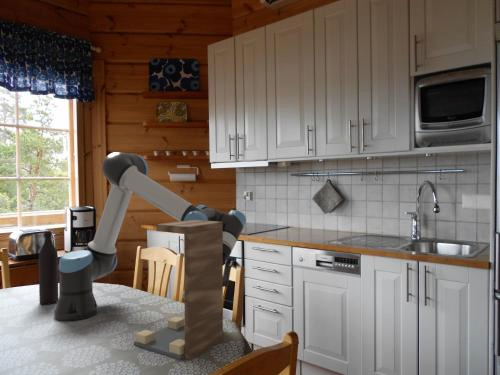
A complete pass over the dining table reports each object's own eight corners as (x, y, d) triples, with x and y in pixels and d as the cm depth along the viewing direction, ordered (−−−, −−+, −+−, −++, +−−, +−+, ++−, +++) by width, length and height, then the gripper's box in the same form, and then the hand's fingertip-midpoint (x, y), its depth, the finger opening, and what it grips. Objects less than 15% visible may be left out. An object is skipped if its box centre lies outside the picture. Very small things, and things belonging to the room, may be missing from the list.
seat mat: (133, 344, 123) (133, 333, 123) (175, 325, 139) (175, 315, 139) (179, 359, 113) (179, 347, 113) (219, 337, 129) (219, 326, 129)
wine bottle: (61, 301, 167) (60, 230, 166) (45, 306, 161) (44, 232, 160) (52, 298, 171) (51, 229, 170) (36, 303, 165) (34, 231, 164)
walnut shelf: (157, 349, 120) (156, 224, 119) (191, 332, 133) (191, 219, 133) (190, 359, 113) (189, 227, 112) (222, 340, 126) (222, 221, 126)
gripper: (252, 255, 143) (227, 311, 130) (203, 249, 154) (175, 300, 141) (244, 243, 138) (218, 300, 125) (194, 238, 150) (165, 289, 137)
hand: (195, 300), depth 133 cm, fingers closed on coffee can, 10 cm apart
